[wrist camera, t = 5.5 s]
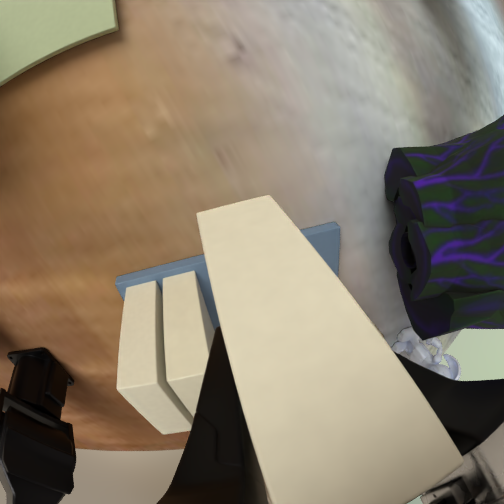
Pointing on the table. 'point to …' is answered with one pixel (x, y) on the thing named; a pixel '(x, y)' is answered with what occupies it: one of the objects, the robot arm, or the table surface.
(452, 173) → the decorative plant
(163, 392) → the blue base cream slabs
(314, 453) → the white box
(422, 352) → the toy figurine
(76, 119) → the table surface
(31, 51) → the green base board
